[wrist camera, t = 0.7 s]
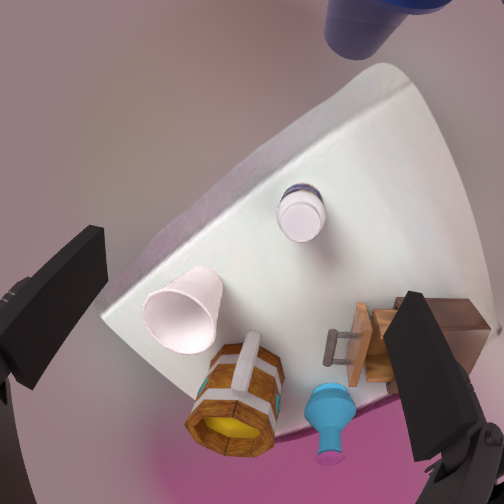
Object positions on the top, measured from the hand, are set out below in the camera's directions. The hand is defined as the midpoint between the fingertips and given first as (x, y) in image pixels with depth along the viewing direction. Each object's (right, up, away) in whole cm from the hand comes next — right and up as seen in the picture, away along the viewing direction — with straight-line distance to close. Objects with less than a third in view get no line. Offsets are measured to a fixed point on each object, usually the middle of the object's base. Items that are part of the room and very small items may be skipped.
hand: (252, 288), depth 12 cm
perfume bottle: (+14, -25, +38) cm, 48 cm away
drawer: (+19, -11, +31) cm, 38 cm away
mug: (0, -17, +38) cm, 41 cm away
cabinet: (+28, -11, +30) cm, 43 cm away
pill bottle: (+6, +8, +27) cm, 28 cm away
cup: (-7, -3, +34) cm, 35 cm away
